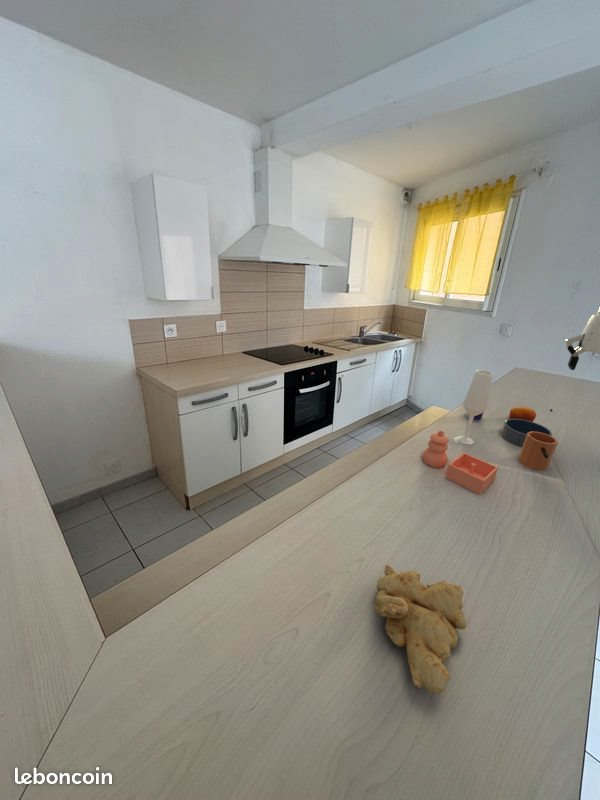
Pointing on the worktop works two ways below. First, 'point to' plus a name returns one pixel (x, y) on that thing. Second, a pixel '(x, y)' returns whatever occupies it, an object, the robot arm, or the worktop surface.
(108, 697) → the worktop surface
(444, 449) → the pottery
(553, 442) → the cup
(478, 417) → the energy drink
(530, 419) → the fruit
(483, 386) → the champagne flute
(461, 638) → the worktop surface
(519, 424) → the shallow round gray bowl
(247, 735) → the worktop surface
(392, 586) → the ginger root
